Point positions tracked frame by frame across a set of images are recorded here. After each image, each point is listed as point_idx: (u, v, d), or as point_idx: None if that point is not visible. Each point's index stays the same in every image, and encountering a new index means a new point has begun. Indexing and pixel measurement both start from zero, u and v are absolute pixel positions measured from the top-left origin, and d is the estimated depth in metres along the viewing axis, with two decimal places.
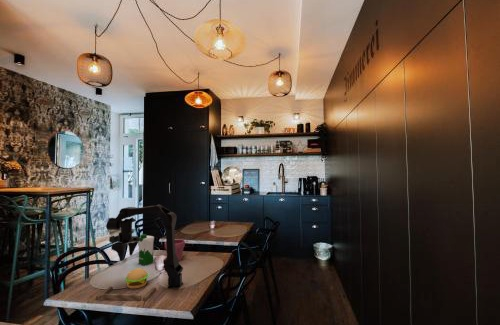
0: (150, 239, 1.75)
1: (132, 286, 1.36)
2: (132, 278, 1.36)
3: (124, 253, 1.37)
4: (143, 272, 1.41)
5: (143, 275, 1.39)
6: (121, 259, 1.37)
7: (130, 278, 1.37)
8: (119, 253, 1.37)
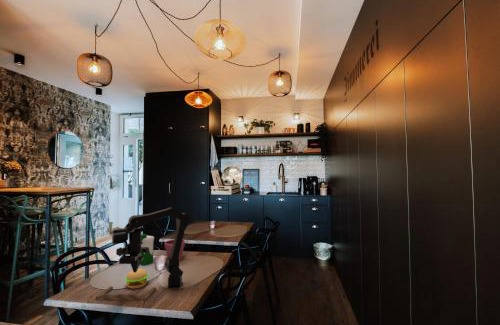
0: (150, 239, 1.75)
1: (132, 286, 1.36)
2: (132, 278, 1.36)
3: (138, 264, 1.28)
4: (143, 272, 1.41)
5: (143, 275, 1.39)
6: (134, 270, 1.28)
7: (130, 278, 1.37)
8: (132, 264, 1.27)
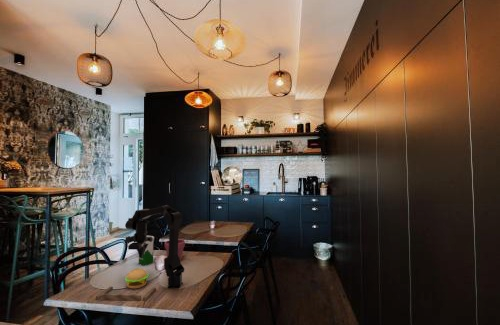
0: None
1: (132, 286, 1.36)
2: (132, 278, 1.36)
3: (143, 250, 1.50)
4: (143, 272, 1.41)
5: (143, 275, 1.39)
6: (140, 256, 1.50)
7: (130, 278, 1.37)
8: (139, 250, 1.49)
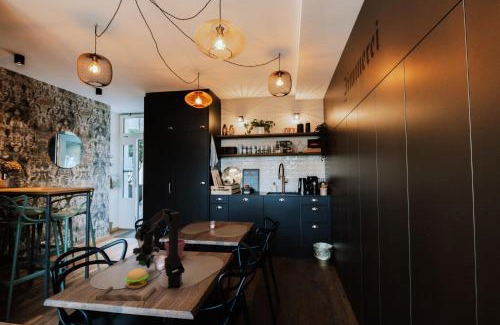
0: None
1: (132, 286, 1.36)
2: (132, 278, 1.36)
3: (150, 261, 1.53)
4: (143, 272, 1.41)
5: (143, 275, 1.39)
6: (148, 267, 1.54)
7: (130, 278, 1.37)
8: (146, 261, 1.53)
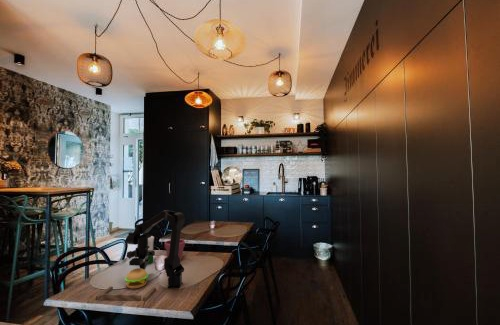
0: (150, 239, 1.75)
1: (132, 286, 1.36)
2: (132, 278, 1.36)
3: (145, 265, 1.47)
4: (143, 272, 1.40)
5: (143, 275, 1.39)
6: None
7: (130, 278, 1.36)
8: (140, 265, 1.46)
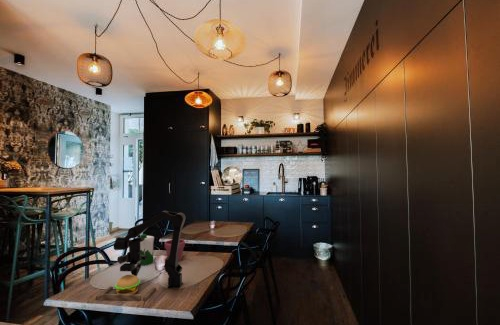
0: (150, 239, 1.75)
1: None
2: (122, 285, 1.28)
3: (137, 271, 1.38)
4: (134, 279, 1.32)
5: (134, 282, 1.30)
6: None
7: (120, 285, 1.28)
8: (132, 271, 1.38)
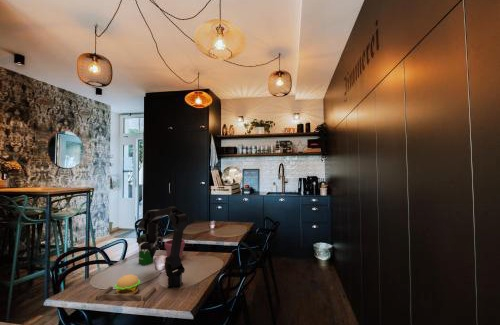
0: None
1: None
2: (122, 285, 1.28)
3: (155, 250, 1.51)
4: (134, 279, 1.32)
5: (134, 282, 1.30)
6: (152, 256, 1.51)
7: (120, 285, 1.28)
8: (150, 250, 1.50)
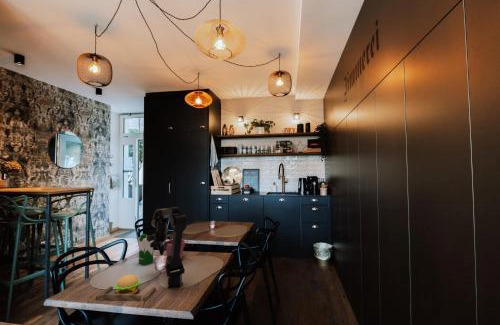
0: None
1: None
2: (122, 285, 1.28)
3: (164, 248, 1.54)
4: (134, 279, 1.32)
5: (134, 282, 1.30)
6: (161, 254, 1.54)
7: (120, 285, 1.28)
8: (160, 248, 1.54)
